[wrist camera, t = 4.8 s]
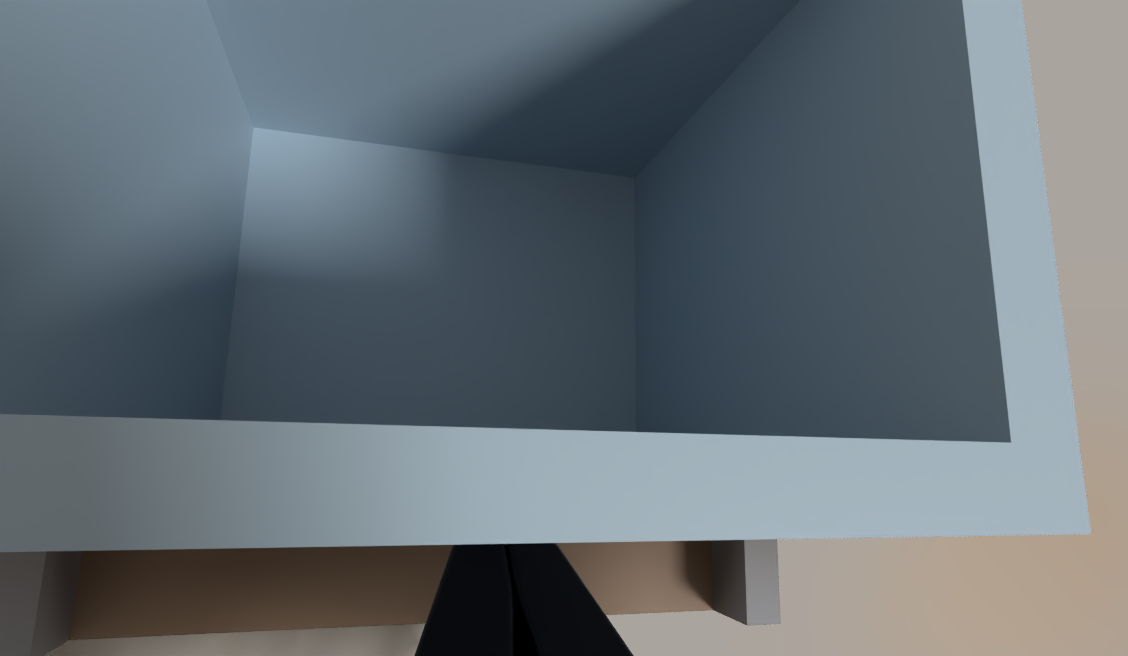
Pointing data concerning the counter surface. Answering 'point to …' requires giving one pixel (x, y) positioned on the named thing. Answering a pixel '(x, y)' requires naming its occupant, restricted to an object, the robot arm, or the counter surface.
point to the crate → (525, 274)
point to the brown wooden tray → (342, 587)
